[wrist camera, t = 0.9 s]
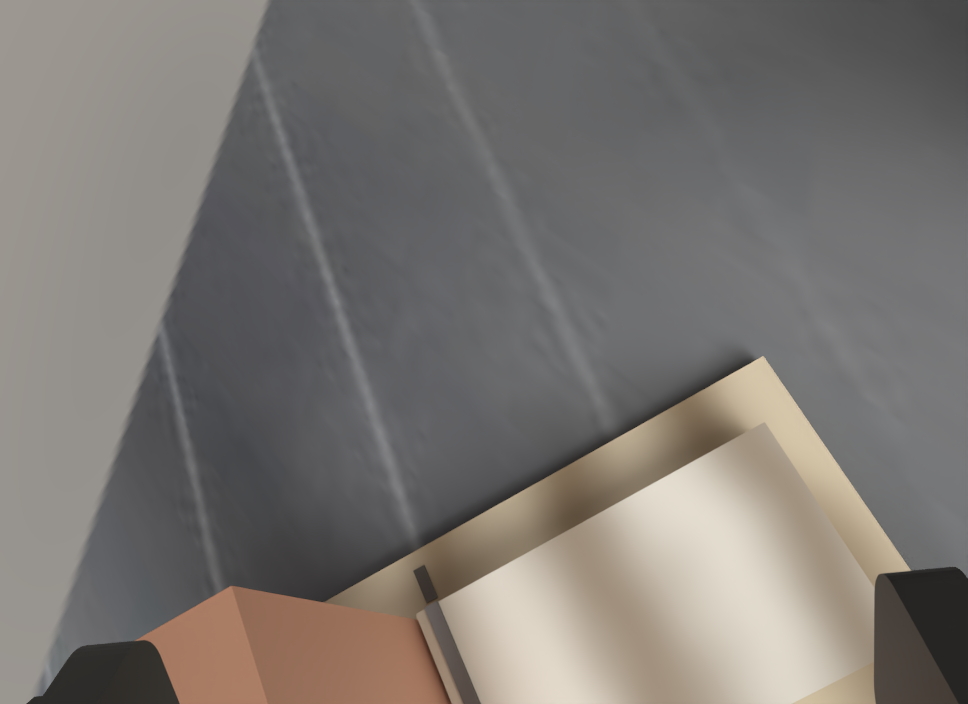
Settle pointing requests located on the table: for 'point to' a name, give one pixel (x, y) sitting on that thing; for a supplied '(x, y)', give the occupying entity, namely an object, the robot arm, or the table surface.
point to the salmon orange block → (295, 653)
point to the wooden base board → (660, 569)
